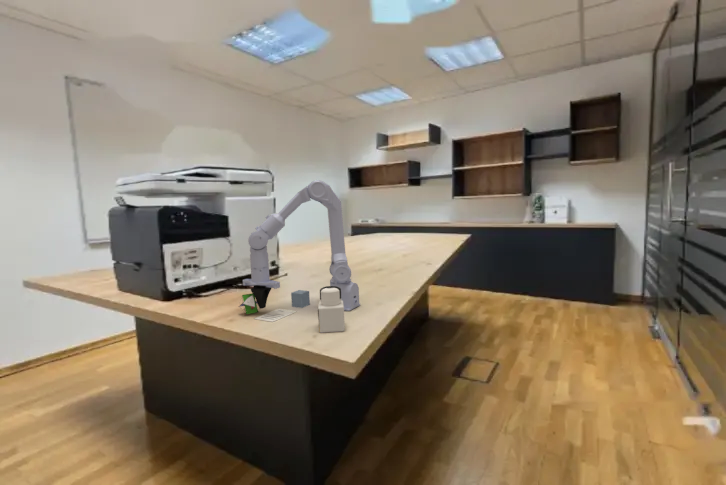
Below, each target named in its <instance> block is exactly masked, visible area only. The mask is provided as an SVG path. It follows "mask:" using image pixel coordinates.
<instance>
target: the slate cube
mask: <svg viewBox="0 0 726 485" xmlns="http://www.w3.org/2000/svg"><path fill="white" fill-rule="evenodd" d="M290 296H291V307H293V308H294V307H295V308H301V309H303V308H305V307H308V306H309V305H311V302H310V290H301V289H298V290H296V291H292V292H291V294H290Z"/></svg>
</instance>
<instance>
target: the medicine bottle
mask: <svg viewBox="0 0 726 485" xmlns="http://www.w3.org/2000/svg"><path fill="white" fill-rule="evenodd" d="M317 312H318V313H317V316H318V317H317V319H318V332H319V333H320V334H324V333H325V334H326V333H340V332H345V330H346V329H345V310H344V305H343V301H342V300H341V289H340V288H339V287H337V286H330V285H326V286H323V287H321V288H320V289H319V301H318V307H317Z"/></svg>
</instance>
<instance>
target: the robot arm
mask: <svg viewBox="0 0 726 485" xmlns="http://www.w3.org/2000/svg"><path fill="white" fill-rule="evenodd" d="M312 200H313V201H315V202H318V203H320V204H321V205H323V206H324V207H325V208H326V209H327V218H328V230H329V241H330V252H331V256H330V260H331V262H330V265H329V274H330V275H331V278H330V280H329V286H337V287H339V288H340V289H341V300H342V301H343V305H344V311H348V312H349V311H352V310H354V309H356V308H357V307H360V306H361V303H360V288H359V285H358V283H357V282H354V281H352V278H351V276H352V270H351V268H350V266H349V264H348V257H347V254H346V246H345V244H346V243H345V233H344V221H343V210H342V209H343V208H342V200H341V199H340V198H339V197H338V195H337V194H336V193H335V191H333V189H332V187H331V185H330V184H328V183H326V182H325V181H323V180H321V179H316V180H313V181H311V182H310V183H309V184H308V185H306V186H305V187H304V188H302V189H301V190H300V191H298V192H297V193H296V194H295V195H294V196H293V197H292V198H291V199H290V200H289V201H288V202H287V204H285V205H284V206H283V207H282V208H281V209H280V210H279V212H278V213H275V212H274V213H271V214H270V215H269V214H268V215H266V216H265V220H264V221H263V222H262V223H261V224H259V225H257V226H256V227H255V231H253V232H251V233H250V234H249V237H248V238H247V239H248V245H249V246H250V247H249V252H250V253H249V259H250V274H251V276H250V277H251V278H244V279H242V286H244V287H245V286H251V288H250V292H251V294H252V293H253V294H254V296H255V300H257V303H258V306H257V307H258V310H261V309H265V308H266V307H267V301H268V297H269V295H270V293H271V290H272V289H274V290H275V289H279V288H281V282H280V281H276V280H273V279H270V266H269V265H270V264H269V263H270V262H269V253H268V246H267V245H268V242H269V240H272V239H273V238H275V236H276V235H277V234H278V233H280V232H281V230H283V228H284V227H285V226H286V222H285V221H286V219H288V218H289V217H290V215H292V214H293V213H294V212H295V211H296V210H297V208H299V207H300V206H301V205H302V204H304V203H307V202H310V201H312Z"/></svg>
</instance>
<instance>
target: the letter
mask: <svg viewBox="0 0 726 485" xmlns="http://www.w3.org/2000/svg"><path fill="white" fill-rule="evenodd" d="M297 312H298V310H291V309H285V308H276V309H274V310H272V311H269V312H266V313H264V314H262V315H259V316H257V317H255V318H253V320H258V321H265V322H271V323H274V322H277V321H278V320H281V319H283V318H285V317H288V316H291V315H292V314H294V313H297Z"/></svg>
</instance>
